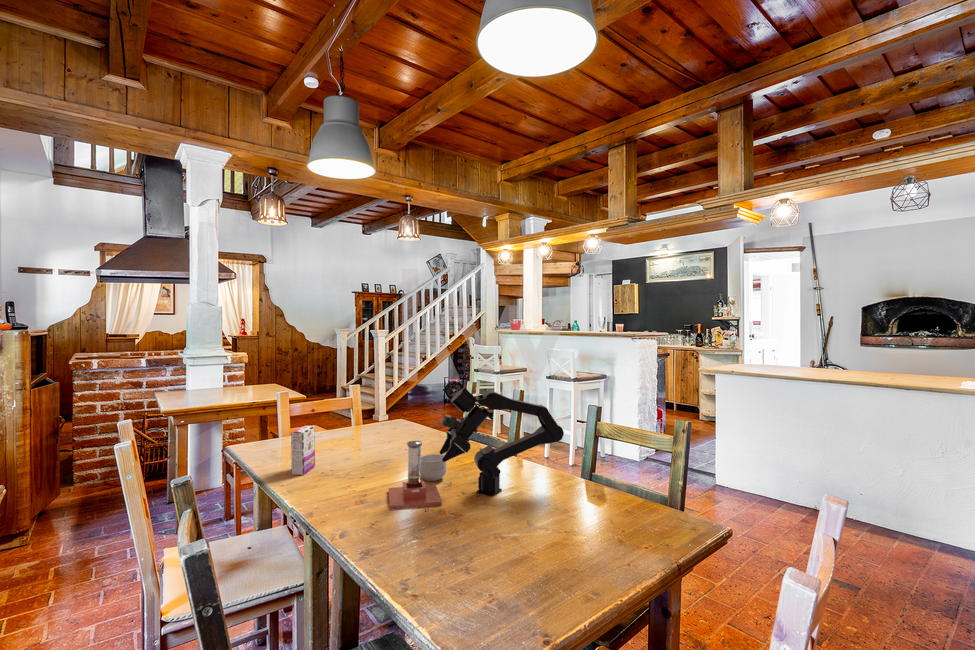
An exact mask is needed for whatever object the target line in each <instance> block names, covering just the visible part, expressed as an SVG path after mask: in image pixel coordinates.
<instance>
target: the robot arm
mask: <svg viewBox="0 0 975 650" xmlns="http://www.w3.org/2000/svg"><path fill="white" fill-rule="evenodd" d="M450 403H452V404H451V405H454V406H455V407H456V408H457V409H458V410H459V411H460V412H461V413H467V415H465V417H464V416H463V417H461V418H460V419H458V418H457V417H456V416H453V415H449V414H444V415H443V418H442V420H441V425H442V426H443V427H447V428H446V433H445V434H446V439H445V441H444V443H443V444H442V446H441V449H440V450H439V453H438V454H441V455H442V454H445V455H444V457H443V458H442V461H443V462H446V463H447V461H449V460H452V459H454V458H456V457H458V456H460V455H463V454H466V453H468V452H469V451H470V450H471V443H470V438H471V437H472V436H473V435H474V434H477V433H478V429H479V427H481V426H482V424H483V423H484V422H485V421H486V420H487V418H488V419H490V420H491V421H494V412H493V411H512V412H513V411H514V412H518V413H520V414H521V413H522V414H527V415H531V416H535V417H537V419H538V422H539V423H540V426H539V427H538V428H537V429H536V430H535V431H534V432H532V433H529V434H528V435H524V436H523V437H520V438H518V439H516V440H514V441H511V442H509V443H507V444H504V445H502V446H499V447H494V448H493V446H492V445H491V444H489V445H486V446H485V447H483V448H479V451H477V452H476V453H475V455H474V458H473V459H474V463H475V465H476V467H477V469H478V470H479V471H480V472H479V474H478V475H479V476H478V477H477V478H478V479H477V481H478V485H477V487H478V488H477V490H476V493H477V494H482V495H487V496H491V497H494V496H496V495H498V493H500V492H502V490H503V489H502V488H500V481H501V479H500V477H501V472H502V471H501V469H500V468H499V467H498V466H499V465H500V464H501V463H502V462H504V461H505V460H507V459H510V458H512V457H514V456H517V455H518V454H522V453H523V452H525V451H529V450H530V449H533V448H535V447H537V446H540V445H550V444H555V443H557V442H560V441H562V439H563V437H564V433H565V432H564V429H563V428H562V427H561V425H559V424H558V423H557V422H556V420H555V419H554V417H553V416H552V415H551V413H550V411H549V409H548V408H547V407H546V406H544V405H543V404H535V403H531V402H527V401H522V400H519V399H514V398H510V397H508V396H505V395H503V394H501V393H498V392H497V391H494V390H486V391H485V392H484V393H482V394H479V395H473V394H472V393H471V392H470V391H469V390H468V389H467V388H466V387H465V386H464V387H463V388H461V389H460V390H459V391H458V392H456V393H455V394H454V395H453V396H452V398H451V400H450ZM478 404H479V405H480V406H481V407H480V406H478ZM488 409H489V410H490V411H489V410H488ZM491 410H493V411H491Z"/></svg>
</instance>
